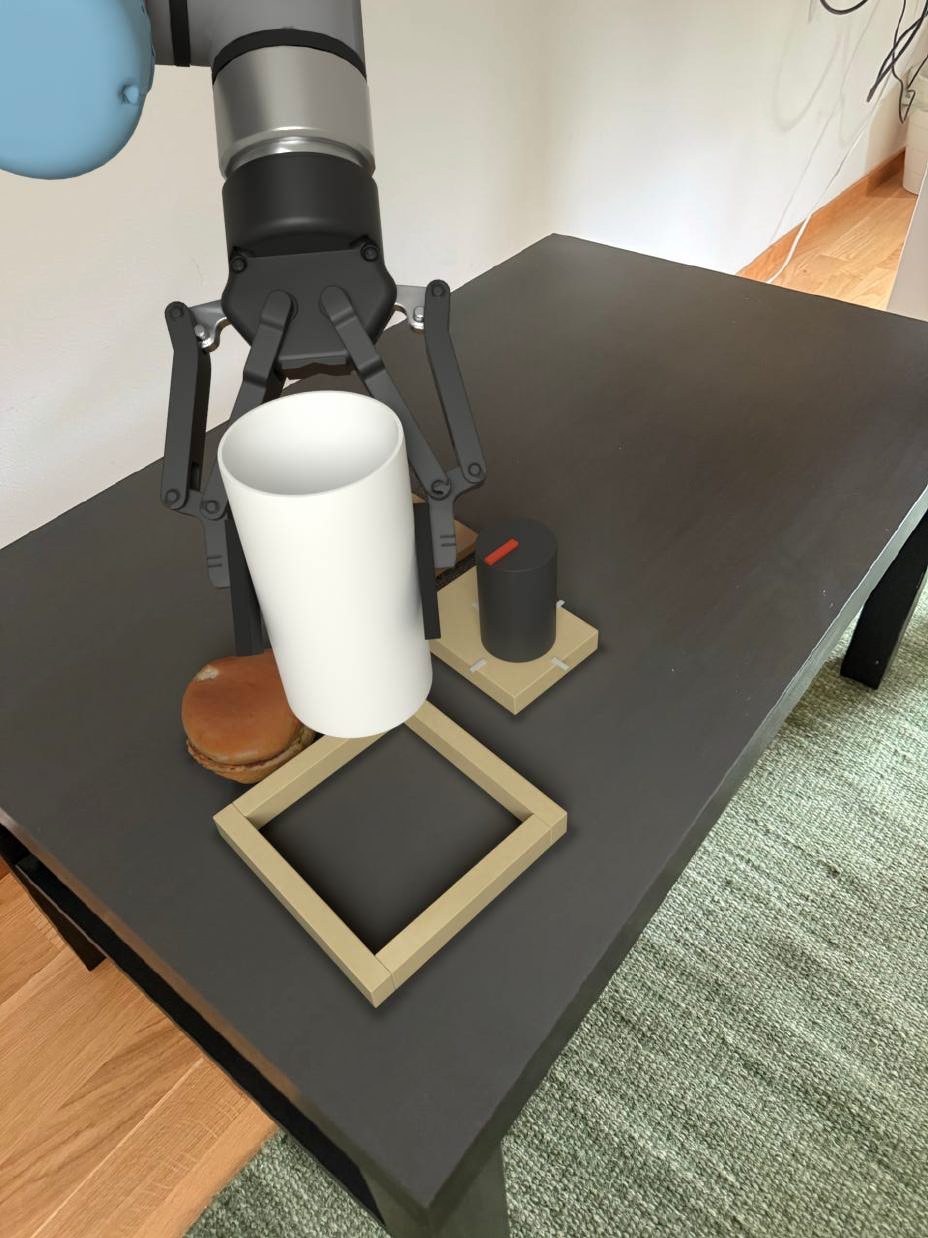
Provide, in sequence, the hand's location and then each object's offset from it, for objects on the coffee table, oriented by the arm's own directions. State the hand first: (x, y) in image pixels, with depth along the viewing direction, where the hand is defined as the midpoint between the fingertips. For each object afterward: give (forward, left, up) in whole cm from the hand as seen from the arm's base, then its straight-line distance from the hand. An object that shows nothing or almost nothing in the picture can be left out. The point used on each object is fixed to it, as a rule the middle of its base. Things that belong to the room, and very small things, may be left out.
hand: (342, 646), depth 45 cm
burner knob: (-6, +18, -17) cm, 26 cm away
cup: (-3, +2, -6) cm, 7 cm away
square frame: (-1, +1, -19) cm, 20 cm away
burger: (-15, 0, -20) cm, 25 cm away
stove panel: (-8, +18, -19) cm, 28 cm away
